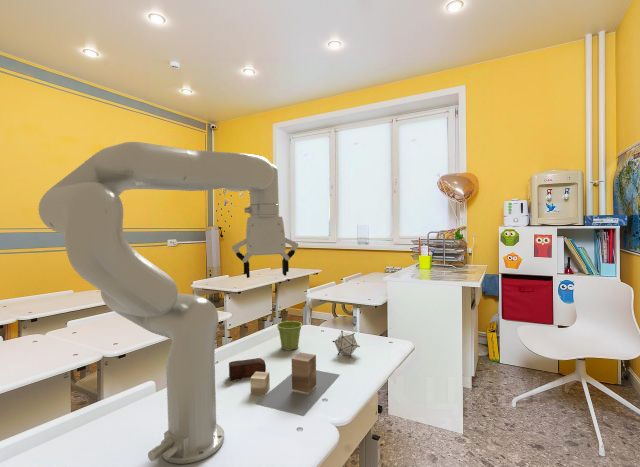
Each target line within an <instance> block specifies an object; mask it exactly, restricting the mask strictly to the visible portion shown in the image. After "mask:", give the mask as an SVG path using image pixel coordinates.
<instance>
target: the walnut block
mask: <svg viewBox="0 0 640 467" xmlns="http://www.w3.org/2000/svg"><path fill="white" fill-rule="evenodd" d="M316 370H317V355H316V354H314V353H313V354H312V353H307V352H298V353H296V355H294V356H293V357H292V358H291V374H292V391H294V392H299V393H303V394H308V395H309V394H310V393H311V392H312V390H313V389H314V388H315V387H316Z"/></svg>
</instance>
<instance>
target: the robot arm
mask: <svg viewBox="0 0 640 467" xmlns="http://www.w3.org/2000/svg"><path fill="white" fill-rule="evenodd" d="M278 173H279V170H278V167H277V166H276V165H275V164H273V163H270V161H269V160H268V159H267V158H265V157H264V156H261V155H260V156H259V155H255V154H249V153H241V152H226V151H225V152H224V151H212V150H197V149H195V150H194V149H188V148H180V147H173V146H168V145H167V146H166V145H162V144H156V143H147V142H141V141H127V142H122V143H118V144H114V145H112V146H108V147H105V148H102V149H100V150H99V151H97V152H95V153H94V154H93V155H92V156H90V157H89V158H88V159H86V160H85V161H83V163H81V164H80V165H79V166H78V167H76V168H75V169H73V170H72V171H71V172H70V173H68V175H65V177H64V178H62V179H61V180H59V181H58V182H57V183H55V184H54V185H53V186H52V187H50V188H48V190H46V191H45V193H43V196H42V197H41V199H40V200H39V203H38V214H39V218H40V219H41V222H43V224H44V225H45V226H46V227H47V228H49V230H52V231H53V232H56V233H60V234H64V244H65V250H66V255H67V258H68V261H69V263H70V265H71V267H72V269H73V270H74V271H75V272H76V274H77V275H79V276H80V277H81V278H82V279H83V280H85V281H86V282H87V283H89V284H90V285H92V286H93V287H95V288H96V289H98V290H99V291H100V296H101V299H102V301H103V302H104V304H105V305H106V306H107V307H108V308H109V309H110V310H111V311H113V312H114V313H116V314H117V315H120V316H121V317H123V318H125V319H127V320H128V321H130V322H132V323H134V324H135V325H137V326H139V327H140V328H142V329H144V330H147V331H148V332H149V333H152V334H154V335H158V336H161V337H163V338H164V337H165V338H167V339H170V340H171V346H170V349H169V352H168V355H167V358H166V366H165V370H166V372H165V373H166V374H165V375H166V393H167V394H166V396H167V399H166V400H167V423H168V424H167V426H168V427H167V428H168V429H167V430H166V431H164V433H163V437H164V438H163V440H161V441H160V444H159V445H156V446H155V447H154V448H152V449H151V450H149V451H148V453H147V458H148V459H149V461H151V462H154V461H156V460H157V459H158V458H160V457H162V458H163V459H164V460H165V461H166V462H169V463H172V464H176V465H177V464H178V465H184V464H192V463H196V462H200V461H202V460H204V459H206V458H208V457H210V456H211V455H213V454H214V453H216V452H217V451H218V450H219V449H220V448H221V446H222V445H223V443H224V441H225V430H224V428H223V427H222V426H221V425H219V424H217V402H216V401H217V398H216V393H217V392H216V364H215V363H216V362H215V360H216V359H215V358H216V357H215V352H216V351H215V348H216V337H217V331H218V326H219V313H218V309H217V307H216V306H215V305H214V303H213V302H211V301H210V300H209V299H207V298H206V297H203V296H199V295H195V294H189V293H180V292H179V289H178V286H177V284H176V282H175V281H174V279H173V278H172V277H171V276H170V275H169V274H168V273H167V272H165V271H164V270H163V269H161V268H160V267H158V266H157V265H155V264H154V263H152V262H151V261H150V260H148V259H147V258H146V257H145V256H143V255H142V254H140V253H139V252H138V251H137V250H136V249H135V248H133V247H132V246H131V245H130V243H129V242H127V239H126V238H125V233H124V228H123V227H124V225H123V224H124V222H123V221H124V204H123V201H122V199H121V197H120V195H122V193H124V191H130V190H157V191H158V190H159V191H180V192H181V191H182V192H183V191H187V192H197V191H198V192H199V191H200V192H202V191H211V190H219V189H220V190H221V189H225V190H227V191H230V192H235V193H236V192H245V191H248V192H249V206H247V207H244V208H243V209H244V213H246V214H247V213H248V214H249V215H250V216H249V217H247V219H246V229H245V238H244V239H242V240H240V241H239V242H237V243H235V244H233V245H232V246H231V249H232V251H233V252H234V254H235V256H236V257H237V259H239V260H240V261H242V263H243V274H244V275H246V278H247V279H250V278H251V277H250V275H251V274H250V261H249V260H250V258H251V257H252V256H267V255H269V256H270V255H281V257H282V260H281V265H282V266H281V267H282V268H281V269H282V275H283V276H285V277H287V273H290V272H289V270H290V269H289V261H290V260H291V258H292V257H293V256H294V255H295V253H296V251H297V249H298V247H299V244H298V243H297V242H295V241H293V240H291V239H289V238H287V237H286V234H285V223H284V219H283V216H280V206H279V204H280V203H279V174H278ZM286 244H287V245H290V246H291V248H290V250H289V251H288V252H287V253H286V250H287V249H286V248H287V247H286V246H287V245H286ZM244 246H245V250H246V253H245V254H243V253H241V251H240V248H241V247H244Z"/></svg>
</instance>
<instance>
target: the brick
mask: <svg viewBox="0 0 640 467" xmlns="http://www.w3.org/2000/svg"><path fill="white" fill-rule="evenodd" d="M266 368H267V365H266V362H265V359H263V358H261V357H256V358H250V359H249V358H248V359H242V360H239V359H238V360H232V361H230V362H228V376H229V380H230V381H232V382H234V380H235V381H240V380H243V379H246V378H251V377H252V376H253V374H254V373H255V372H267V370H266Z"/></svg>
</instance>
